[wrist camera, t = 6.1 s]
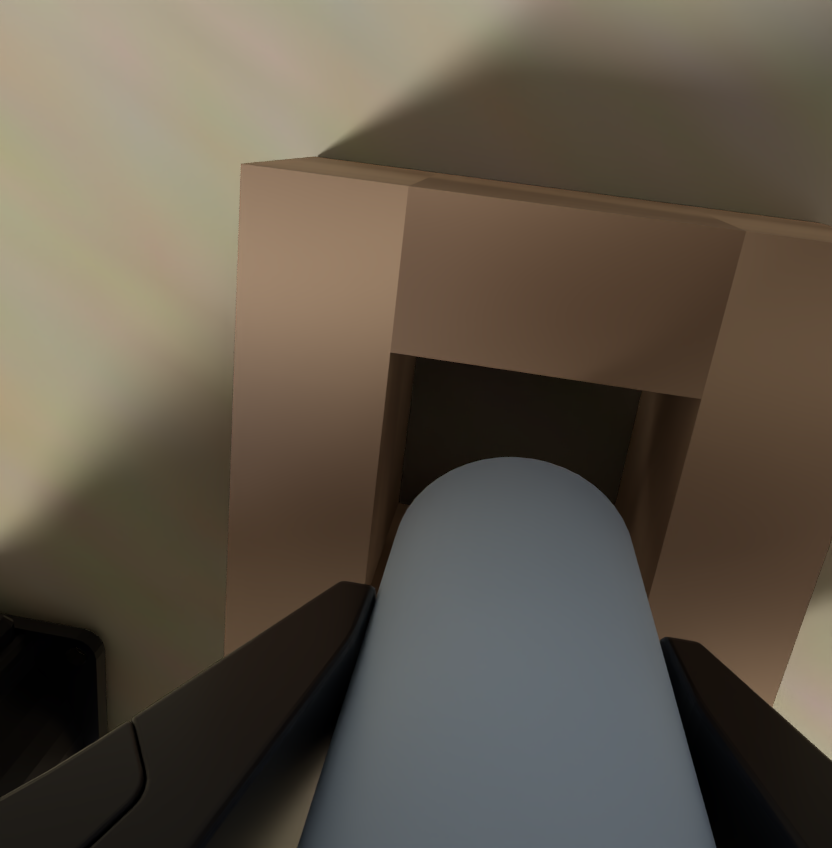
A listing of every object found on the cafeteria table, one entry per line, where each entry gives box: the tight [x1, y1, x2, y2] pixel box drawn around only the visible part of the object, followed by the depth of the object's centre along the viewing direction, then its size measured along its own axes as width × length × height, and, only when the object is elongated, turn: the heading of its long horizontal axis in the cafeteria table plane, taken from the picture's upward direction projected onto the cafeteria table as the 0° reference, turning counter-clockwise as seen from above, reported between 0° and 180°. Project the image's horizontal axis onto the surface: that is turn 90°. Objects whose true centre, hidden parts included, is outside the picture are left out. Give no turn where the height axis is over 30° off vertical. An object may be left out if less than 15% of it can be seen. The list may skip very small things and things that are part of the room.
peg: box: [297, 457, 716, 848], centre depth 7 cm, size 3×3×8 cm
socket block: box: [224, 157, 832, 707], centre depth 14 cm, size 9×9×4 cm
